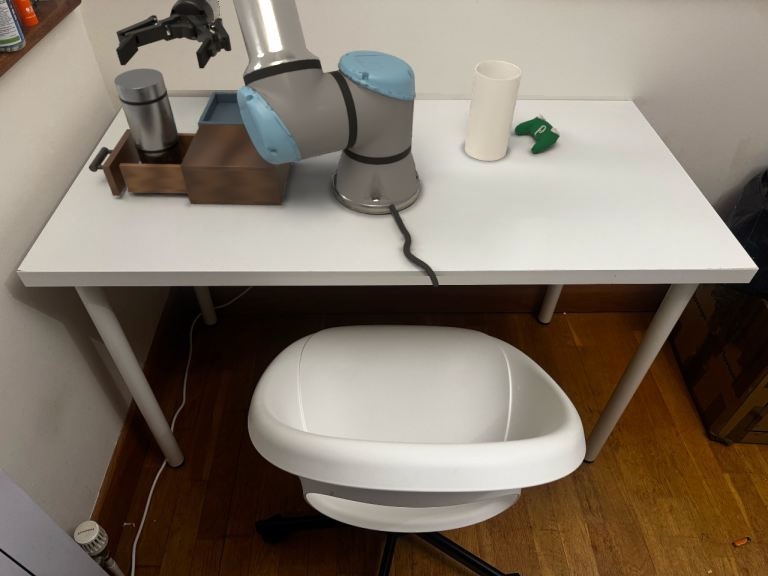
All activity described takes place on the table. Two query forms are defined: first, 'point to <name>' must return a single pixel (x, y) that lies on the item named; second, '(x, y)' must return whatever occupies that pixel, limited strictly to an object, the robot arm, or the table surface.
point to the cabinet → (231, 169)
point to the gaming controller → (539, 133)
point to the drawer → (139, 168)
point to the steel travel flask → (149, 116)
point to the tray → (222, 110)
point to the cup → (492, 109)
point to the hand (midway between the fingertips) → (160, 59)
